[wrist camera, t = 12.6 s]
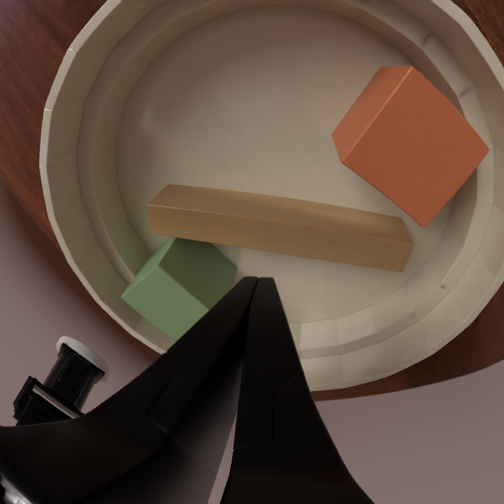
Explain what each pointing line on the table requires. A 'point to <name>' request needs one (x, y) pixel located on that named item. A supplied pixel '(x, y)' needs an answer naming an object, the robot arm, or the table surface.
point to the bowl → (273, 160)
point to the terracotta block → (409, 142)
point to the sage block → (180, 284)
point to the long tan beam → (281, 226)
